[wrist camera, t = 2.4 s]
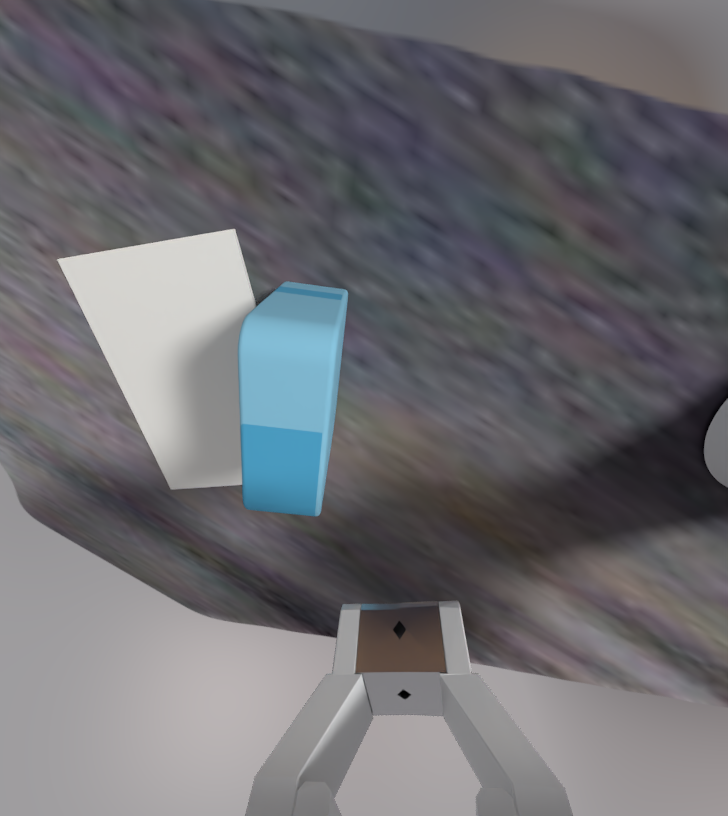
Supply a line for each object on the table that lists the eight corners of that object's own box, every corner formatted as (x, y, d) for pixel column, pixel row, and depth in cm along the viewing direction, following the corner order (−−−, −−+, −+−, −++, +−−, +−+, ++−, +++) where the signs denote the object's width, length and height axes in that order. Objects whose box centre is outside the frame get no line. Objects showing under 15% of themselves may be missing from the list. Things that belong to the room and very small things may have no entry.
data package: (287, 277, 26) (234, 321, 16) (349, 285, 27) (337, 334, 16) (283, 419, 32) (242, 521, 22) (334, 425, 32) (318, 529, 22)
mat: (235, 228, 25) (233, 228, 25) (304, 478, 35) (303, 480, 35) (60, 258, 27) (57, 259, 27) (172, 487, 37) (170, 489, 37)
